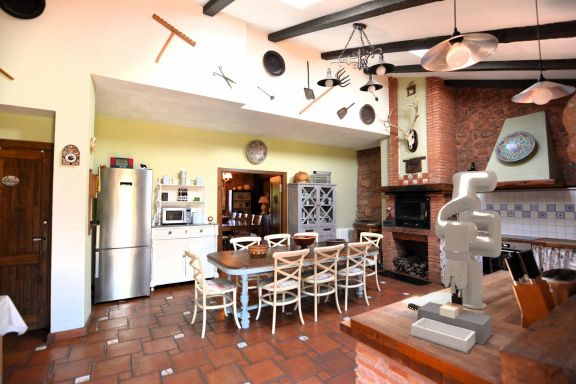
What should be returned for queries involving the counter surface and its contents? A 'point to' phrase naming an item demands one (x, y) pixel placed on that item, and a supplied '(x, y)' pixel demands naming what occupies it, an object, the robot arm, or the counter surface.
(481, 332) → the block
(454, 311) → the cream tile
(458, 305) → the terracotta tile
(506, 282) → the counter surface
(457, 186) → the robot arm
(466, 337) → the box
